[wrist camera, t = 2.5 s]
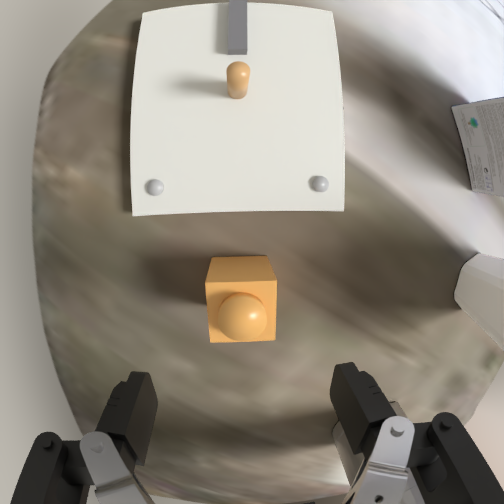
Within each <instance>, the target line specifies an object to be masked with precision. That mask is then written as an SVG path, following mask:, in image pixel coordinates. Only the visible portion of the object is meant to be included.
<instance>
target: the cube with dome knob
mask: <svg viewBox="0 0 504 504" xmlns="http://www.w3.org/2000/svg"><path fill="white" fill-rule="evenodd" d="M205 287H206V300H207V312H208V323H209V333H210V342H247V341H268V340H275V331H276V299H277V279H276V277H275V275H274V272H273V270H272V267H271V265H270V263H269V260H268V258H267V256H240V257H212V259H211V262H210V266H209V270H208V274H207V277H206V281H205Z"/></svg>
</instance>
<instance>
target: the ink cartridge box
mask: <svg viewBox="0 0 504 504" xmlns="http://www.w3.org/2000/svg"><path fill="white" fill-rule="evenodd" d="M452 112H453V114H454V117H455V121H456V124H457V127H458V130H459V134H460V137H461V141H462V144H463V148H464V152H465V157H466V161H467V166H468V171H469V175H470V181H471V186H472V191H473V192H479V193H485V194H491V195H497V196H502V197H504V97H500V98H494V99H488V100H483V101H477V102H472V103H467V104H461V105H454V106H452Z"/></svg>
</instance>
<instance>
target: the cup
mask: <svg viewBox="0 0 504 504" xmlns="http://www.w3.org/2000/svg"><path fill="white" fill-rule="evenodd" d="M454 299H455V301H456V302H457V303H458V305H459V306H460V307H461V309H462V310H463V311H464V312H465V313H466V314H468V315H469V316H470V317H471V318H472V319H473V320H474V321H475V322H476V323H477V324H478V325H479V326H480V327H481V328H482V329H483V330H484V331H485V332H486V333H487V334H488V335H489V336H490V337H491V338H492V339H493V340H494V341H495V343H496V344H497V345H498V346H499V347H500V348H501V349H502V350H503V351H504V259H501V258H497V257H493V256H489V255H485V254H480V253H478V254H477V255H475V256H474V257H473V258H471V259H470V260H469V261H467V262H466V263H465V264H464V266H463V267H462V269H461V271H460V275H459V279H458V282H457V286H456V289H455V292H454Z"/></svg>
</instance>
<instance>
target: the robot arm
mask: <svg viewBox="0 0 504 504" xmlns="http://www.w3.org/2000/svg"><path fill="white" fill-rule="evenodd" d="M330 398H331V402H332V404H333V406H334V409H335V411H336V414H337V416H338V418H339V422H338V423H337V424H336V425H335V427H334V429H333V432H332V435H333V439H334V441H335V445H336V448H337V450H338V452H339V455H340V458H341V461H342V464H343V467H344V469H345V472H346V475H347V478H348V481H349V483H350V486H351V488H350V490H349V492H348V494H347V495H346V497H345V499H344V500H343V502H342V504H504V491H503V489H502V488H501V486H500V484H499V482H498V480H497V479H496V477H495V475H494V474H493V472H492V470H491V468H490V467H489V465H488V464H487V462H486V460H485V459H484V457H483V456H482V454H481V452H480V451H479V449H478V448H477V446H476V445H475V443H474V441H473V440H472V438H471V437H470V435H469V434H468V432H467V431H466V429H465V428H464V426H463V425H462V423H461V422H460V420H459V419H458V418H457V417H456V416H455V415H454V414H452V413H448V412H442V413H439V414H437V415H436V416H435V417H434V418H433V420H432V422H425V423H412V422H411V421H410V420H409V419H408V417H407V416H406V414H405V413H404V411H403V410H402V408H401V407H400V405H399V404H398V402H394V403H390V402H389V401H388V400H387V398H386V397H385V395H384V394H383V393H382V390H381V389H380V387H379V386H378V384H377V383H376V381H375V380H374V378H373V377H372V376H371V375H369V374H368V373H367V372H365V371H361V372H359V370H358V369H357V367H356V366H355V364H354V363H353V362H349V363H343V364H337V365H336V366H335V368H334V373H333V378H332V382H331V387H330ZM157 406H158V401H157V395H156V392H155V389H154V386H153V383H152V380H151V376H150V374H149V373H148V372H135V371H132V372H131V373H130V375H129V378H128V380H127V382H122V381H121V382H120V383H119V384H118V385H117V386H116V387H115V388H114V389H113V391H112V393H111V395H110V399H109V400H108V402H107V406H106V407H105V409H104V411H103V414H102V416H101V418H100V421H99V423H98V425H97V428H96V430H95V432H90V433H88V434H86V435H85V436H84V437H83V438H82V439H81V440H80V441H79V440H78V441H62V440H61V439H60V437H59V436H58V435H57V434H55V433H53V432H44V433H41V434H40V435H39V436H37V438H36V439H35V441H34V443H33V446H32V448H31V450H30V452H29V455H28V457H27V459H26V462H25V464H24V467H23V469H22V472H21V474H20V477H19V480H18V483H17V485H16V488H15V491H14V494H13V497H12V500H11V503H10V504H86V502H87V497H88V492H89V488H90V485H95V486H96V490H95V495H96V497H97V499H98V501H99V503H100V504H155V503H154V502H153V501H152V499H151V497H150V496H149V494H148V493H147V491H146V490H145V489H144V487H143V485H142V484H141V482H140V481H139V479H138V478H137V476H136V474H135V473H134V468H135V465H141V466H144V463H145V459H146V454H147V450H148V445H149V441H150V437H151V432H152V428H153V424H154V420H155V416H156V412H157ZM305 504H315V502H310V503H305Z"/></svg>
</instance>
